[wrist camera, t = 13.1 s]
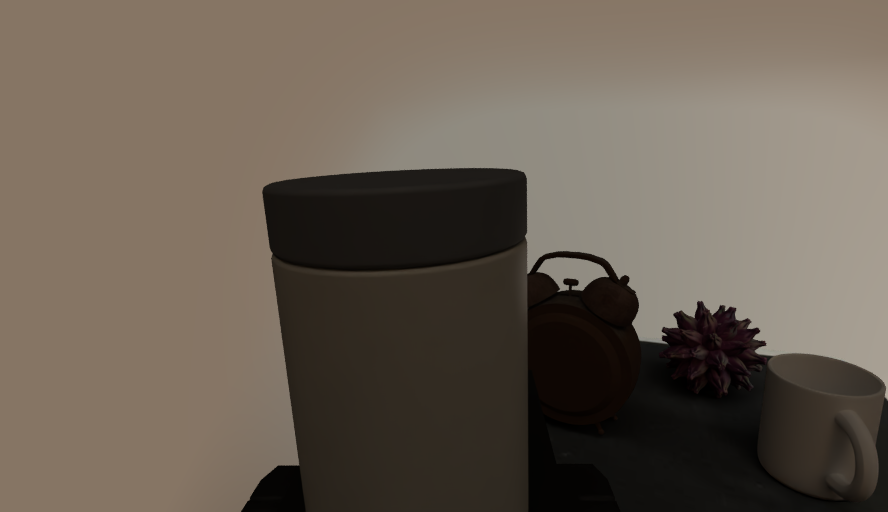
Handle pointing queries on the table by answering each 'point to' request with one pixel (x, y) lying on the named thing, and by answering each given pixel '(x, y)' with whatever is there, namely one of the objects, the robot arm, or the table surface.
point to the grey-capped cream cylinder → (405, 337)
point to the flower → (713, 350)
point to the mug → (821, 426)
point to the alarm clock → (582, 344)
